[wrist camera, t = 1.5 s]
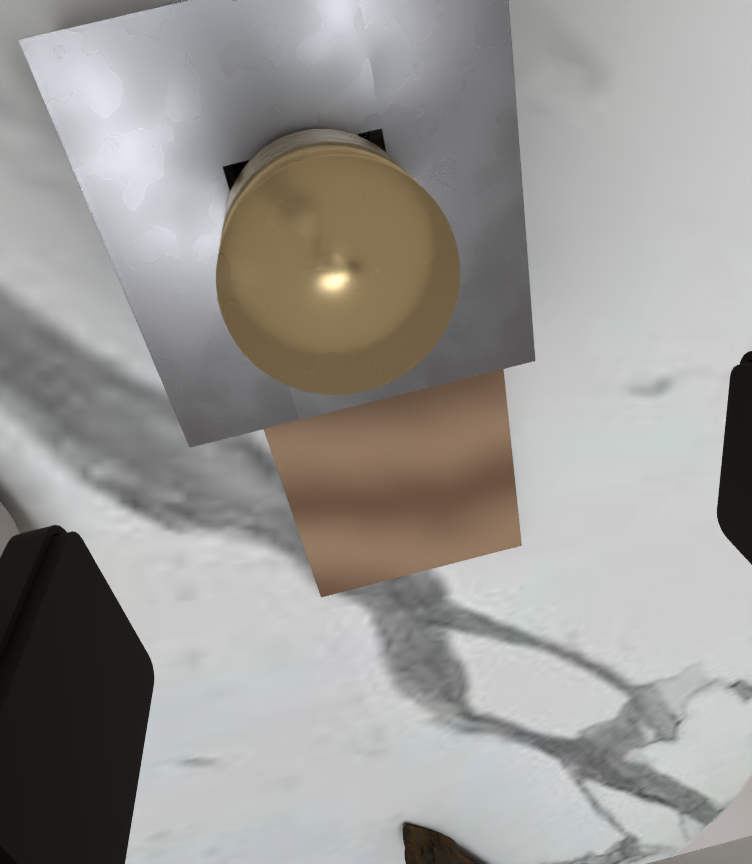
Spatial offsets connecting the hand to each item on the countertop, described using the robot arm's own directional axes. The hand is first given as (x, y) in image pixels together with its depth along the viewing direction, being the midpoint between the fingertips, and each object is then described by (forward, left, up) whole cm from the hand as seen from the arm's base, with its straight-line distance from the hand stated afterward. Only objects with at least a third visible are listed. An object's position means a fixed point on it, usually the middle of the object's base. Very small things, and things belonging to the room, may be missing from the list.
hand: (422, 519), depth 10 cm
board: (+14, +1, -20) cm, 24 cm away
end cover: (0, 0, -20) cm, 20 cm away
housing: (0, 0, -20) cm, 20 cm away
